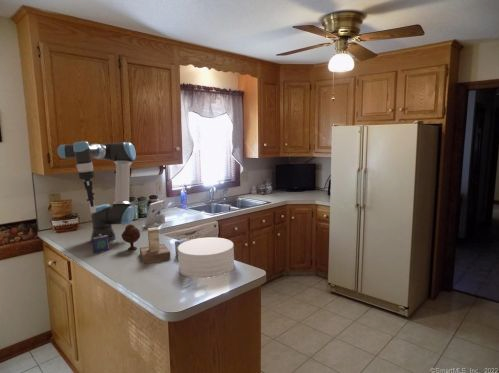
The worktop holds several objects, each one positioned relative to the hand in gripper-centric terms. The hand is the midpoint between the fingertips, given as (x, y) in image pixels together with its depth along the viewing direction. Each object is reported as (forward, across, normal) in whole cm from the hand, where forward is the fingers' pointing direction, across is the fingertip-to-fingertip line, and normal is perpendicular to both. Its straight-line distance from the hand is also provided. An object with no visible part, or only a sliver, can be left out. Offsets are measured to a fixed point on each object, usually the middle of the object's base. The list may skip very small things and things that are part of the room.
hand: (93, 209), depth 185 cm
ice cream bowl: (+30, -9, +17) cm, 36 cm away
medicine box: (+32, +17, +42) cm, 55 cm away
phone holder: (+33, -61, +40) cm, 80 cm away
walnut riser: (+30, +12, +27) cm, 42 cm away
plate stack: (+32, +40, +48) cm, 70 cm away
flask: (+29, -14, 0) cm, 32 cm away
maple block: (+26, +11, +27) cm, 39 cm away
